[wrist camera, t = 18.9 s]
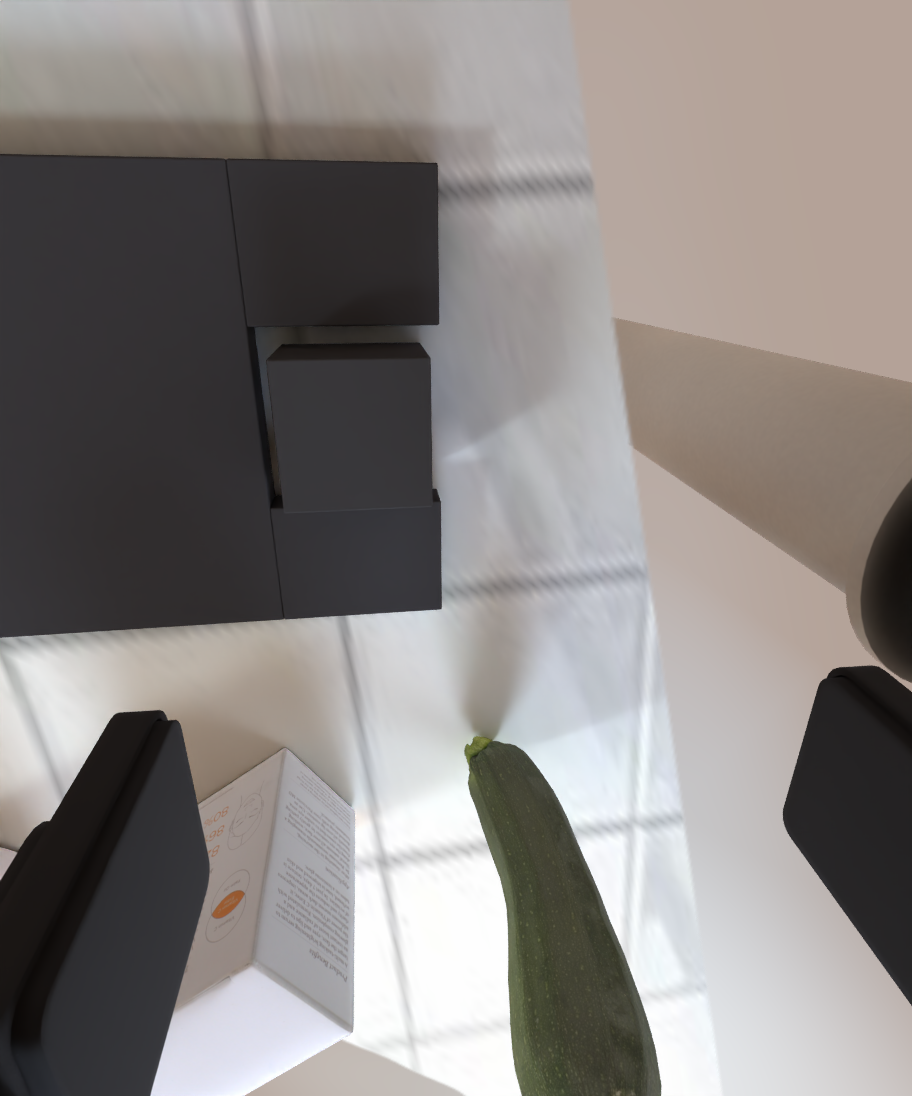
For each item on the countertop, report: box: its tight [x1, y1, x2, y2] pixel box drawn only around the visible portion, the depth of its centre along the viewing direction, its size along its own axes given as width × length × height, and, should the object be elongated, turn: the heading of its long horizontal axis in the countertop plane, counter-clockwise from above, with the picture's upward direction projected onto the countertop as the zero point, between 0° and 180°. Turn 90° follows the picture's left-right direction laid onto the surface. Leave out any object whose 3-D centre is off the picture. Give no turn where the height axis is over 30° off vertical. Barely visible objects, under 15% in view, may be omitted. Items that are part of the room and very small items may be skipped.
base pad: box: [0, 154, 442, 638], centre depth 23 cm, size 18×16×2 cm
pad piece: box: [266, 342, 433, 513], centre depth 22 cm, size 5×5×4 cm
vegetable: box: [464, 736, 661, 1096], centre depth 23 cm, size 4×4×20 cm
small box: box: [150, 748, 355, 1096], centre depth 27 cm, size 8×6×10 cm
